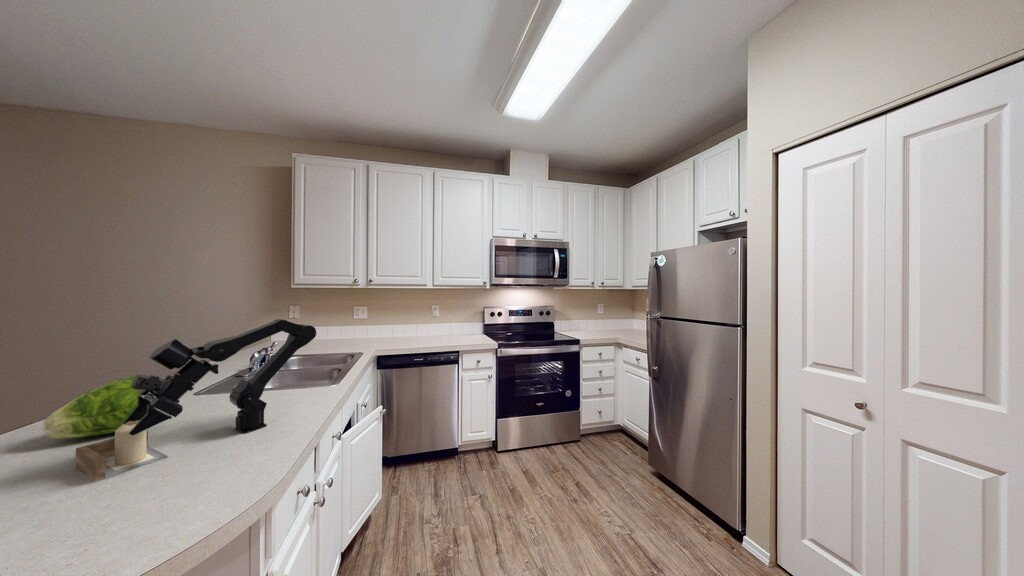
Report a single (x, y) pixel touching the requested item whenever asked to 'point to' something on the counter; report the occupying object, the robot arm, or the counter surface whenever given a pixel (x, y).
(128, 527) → the counter surface
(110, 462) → the frame
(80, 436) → the lettuce
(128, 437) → the candle
